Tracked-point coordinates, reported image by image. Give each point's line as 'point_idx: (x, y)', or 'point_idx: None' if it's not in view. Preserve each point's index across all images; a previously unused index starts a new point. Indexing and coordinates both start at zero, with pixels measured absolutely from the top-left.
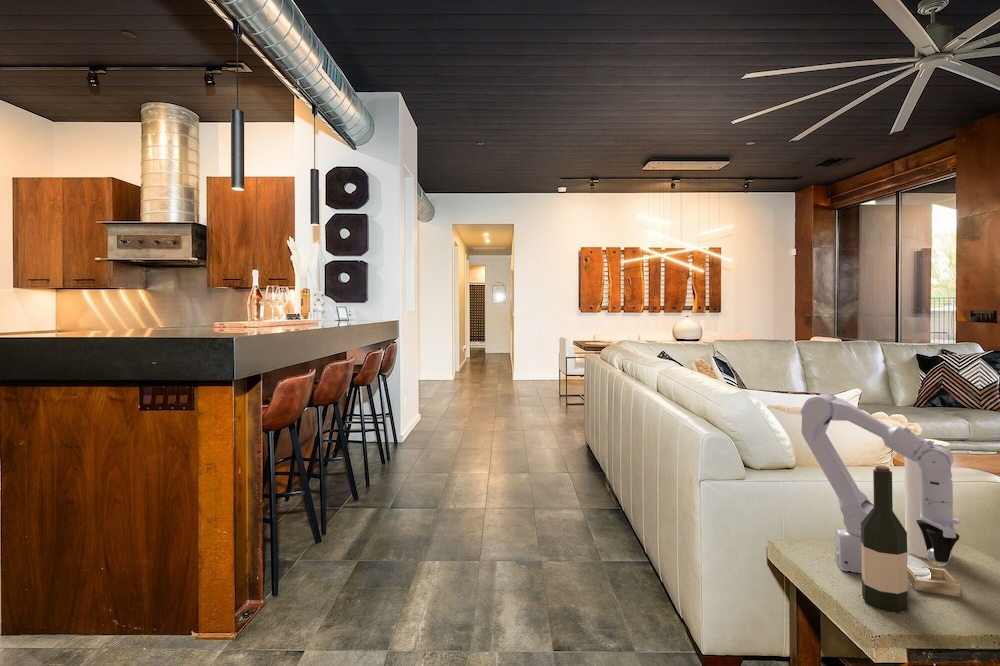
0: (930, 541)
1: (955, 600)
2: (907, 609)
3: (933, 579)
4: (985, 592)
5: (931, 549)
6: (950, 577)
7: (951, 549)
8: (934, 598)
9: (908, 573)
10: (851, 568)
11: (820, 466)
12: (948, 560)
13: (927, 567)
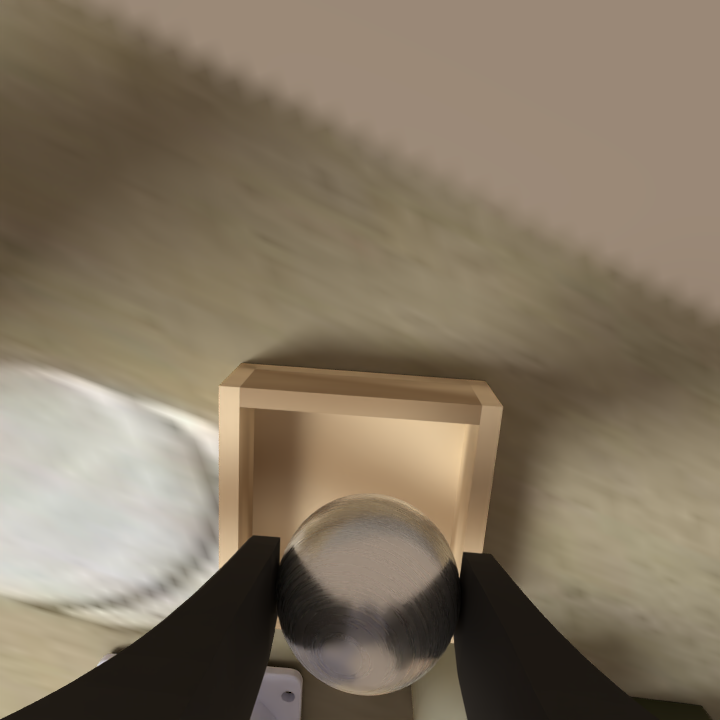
0: (237, 708)
1: (542, 429)
2: (705, 712)
3: (295, 453)
4: (377, 183)
5: (367, 692)
6: (376, 413)
7: (591, 664)
8: (536, 531)
9: None
10: None
11: None
12: (417, 514)
13: (228, 494)
